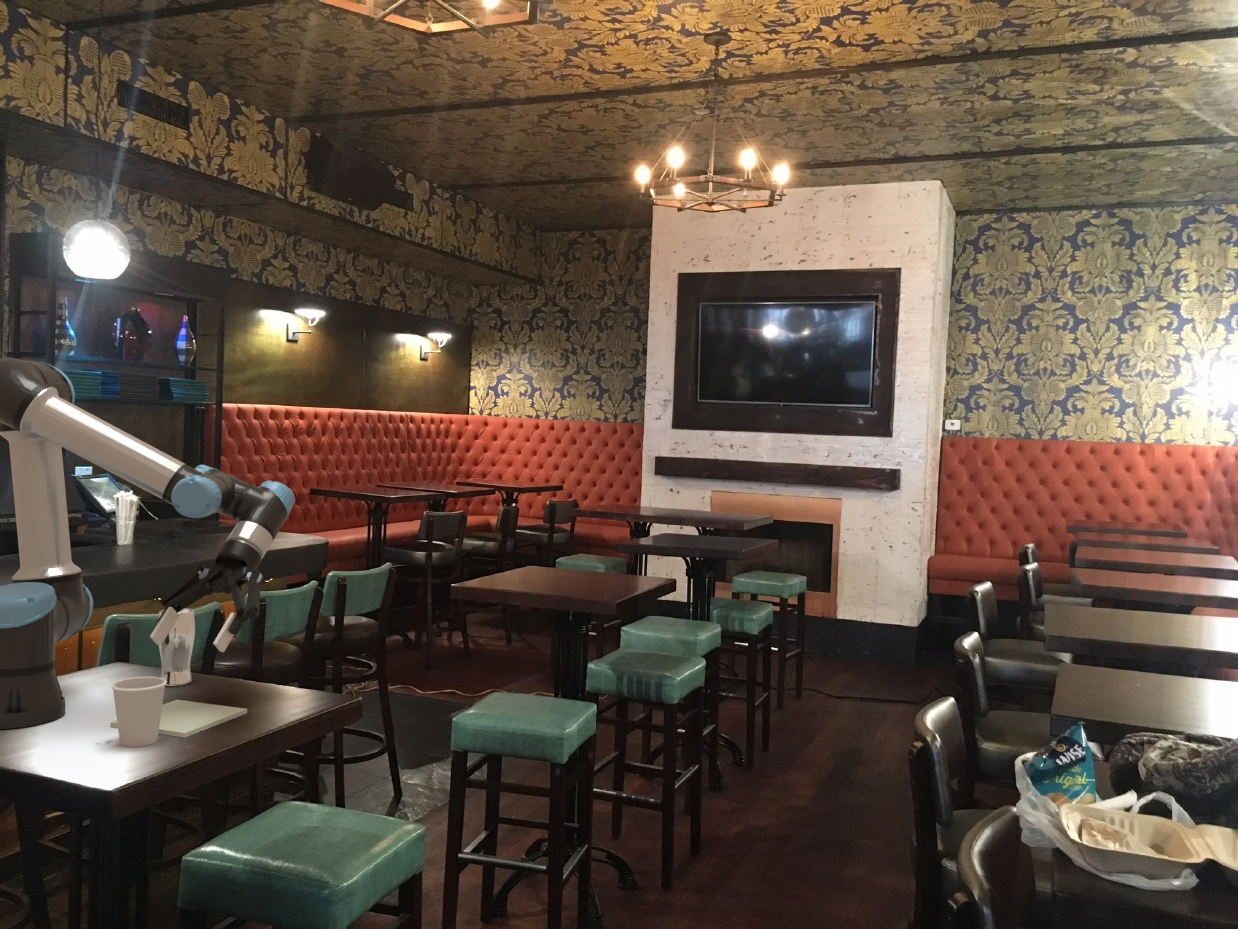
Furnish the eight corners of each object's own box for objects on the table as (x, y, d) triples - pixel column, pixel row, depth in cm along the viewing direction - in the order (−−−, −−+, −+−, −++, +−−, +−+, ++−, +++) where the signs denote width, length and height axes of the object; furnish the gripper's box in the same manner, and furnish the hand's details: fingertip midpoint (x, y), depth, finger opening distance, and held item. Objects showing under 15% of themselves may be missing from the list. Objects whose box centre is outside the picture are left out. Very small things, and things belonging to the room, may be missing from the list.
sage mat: (110, 726, 174) (110, 722, 174) (176, 703, 189) (176, 699, 189) (185, 737, 169) (185, 733, 169) (247, 713, 184) (247, 708, 184)
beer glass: (180, 689, 199) (181, 615, 199) (149, 686, 201) (150, 612, 200) (201, 680, 206) (202, 609, 206) (171, 678, 208) (172, 607, 207)
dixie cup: (148, 731, 172) (148, 674, 171) (176, 740, 167) (177, 681, 167) (100, 743, 165) (101, 683, 165) (128, 753, 160) (129, 691, 160)
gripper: (308, 567, 188) (255, 662, 174) (199, 559, 195) (140, 650, 181) (291, 542, 183) (235, 638, 169) (180, 534, 190) (118, 626, 176)
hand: (186, 644), depth 175 cm, fingers open, 13 cm apart
